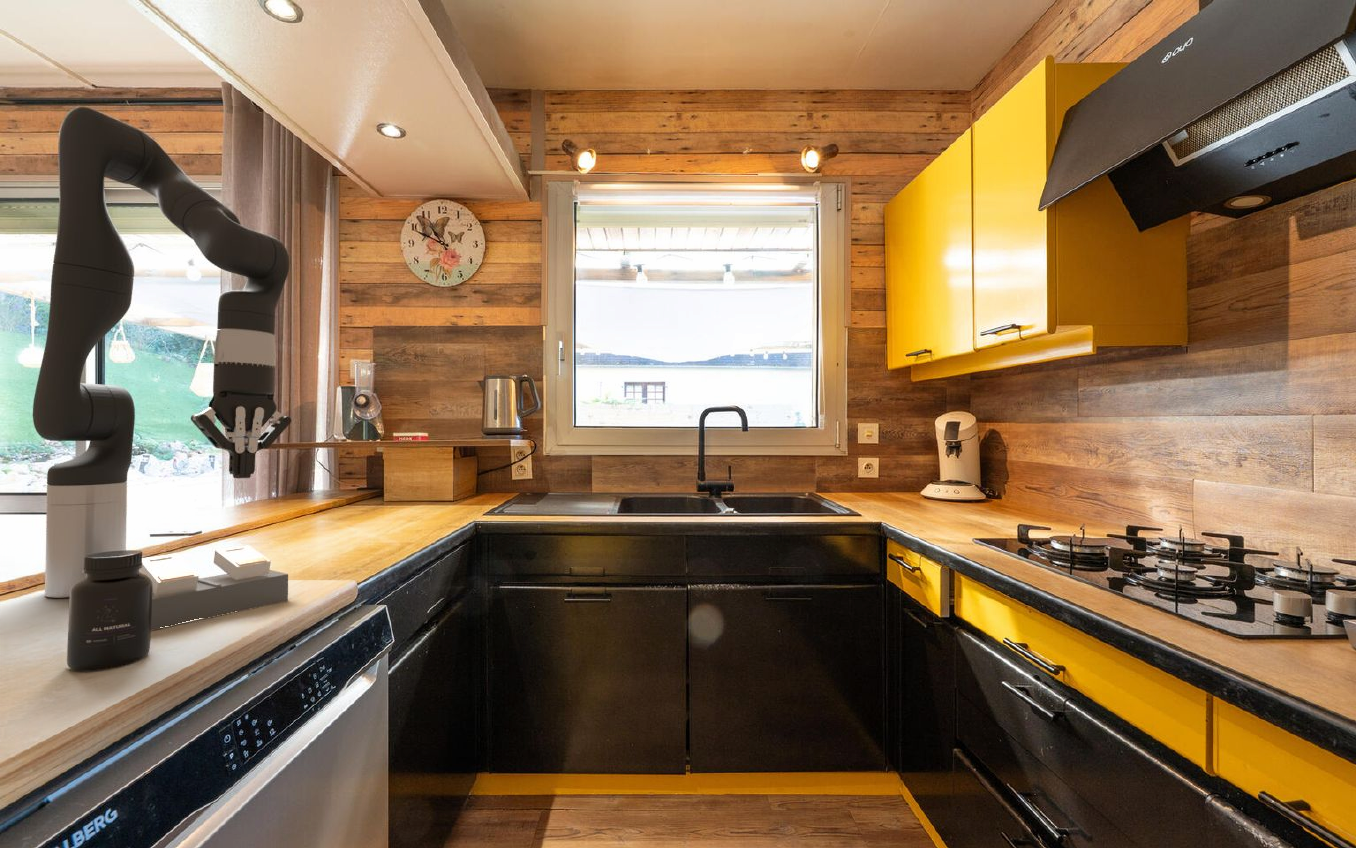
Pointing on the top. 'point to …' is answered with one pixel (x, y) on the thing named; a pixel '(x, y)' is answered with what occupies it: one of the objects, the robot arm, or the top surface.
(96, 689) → the top surface
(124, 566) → the supplement bottle
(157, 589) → the block
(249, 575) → the rocker
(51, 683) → the top surface
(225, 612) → the switch panel
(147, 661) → the top surface
